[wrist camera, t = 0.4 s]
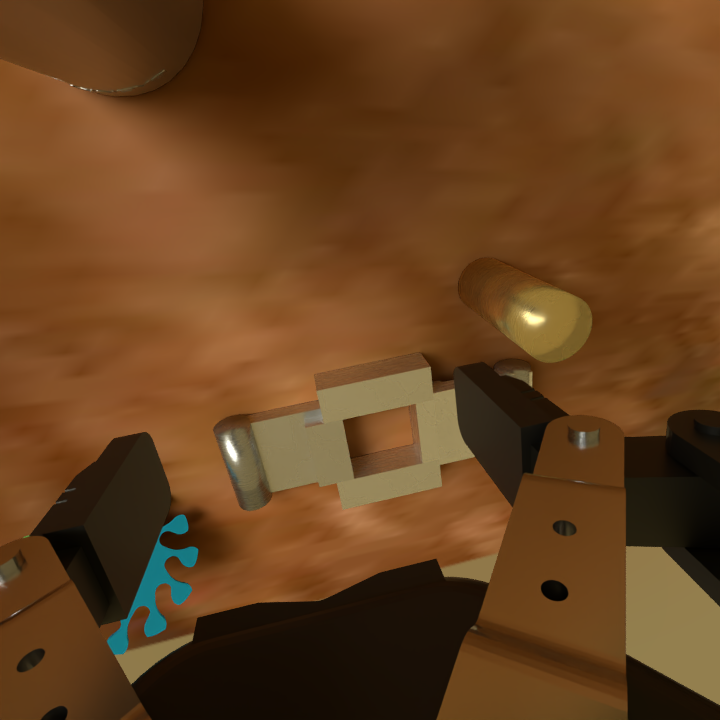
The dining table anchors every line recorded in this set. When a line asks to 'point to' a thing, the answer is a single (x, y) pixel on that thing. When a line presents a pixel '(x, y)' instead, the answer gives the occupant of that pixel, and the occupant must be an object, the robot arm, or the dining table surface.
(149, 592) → the gear
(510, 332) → the pin
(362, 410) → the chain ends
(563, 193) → the dining table surface
